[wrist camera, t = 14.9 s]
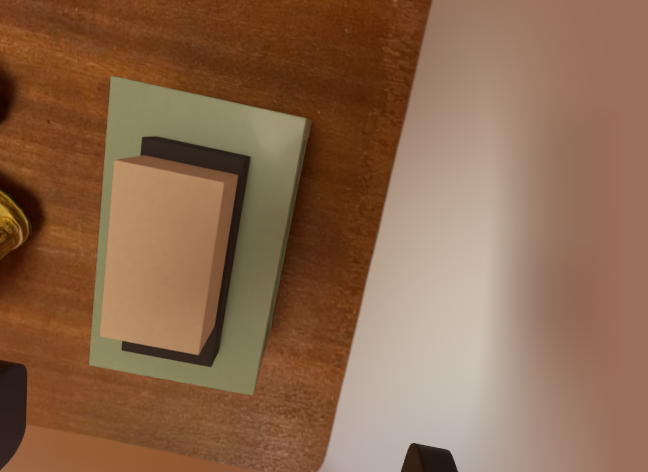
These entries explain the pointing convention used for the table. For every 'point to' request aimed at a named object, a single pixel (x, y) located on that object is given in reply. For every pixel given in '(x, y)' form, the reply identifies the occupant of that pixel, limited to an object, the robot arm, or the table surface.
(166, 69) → the table surface
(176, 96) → the olive green lidded box
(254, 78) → the table surface
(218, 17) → the table surface
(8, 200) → the shrine
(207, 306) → the board eraser
